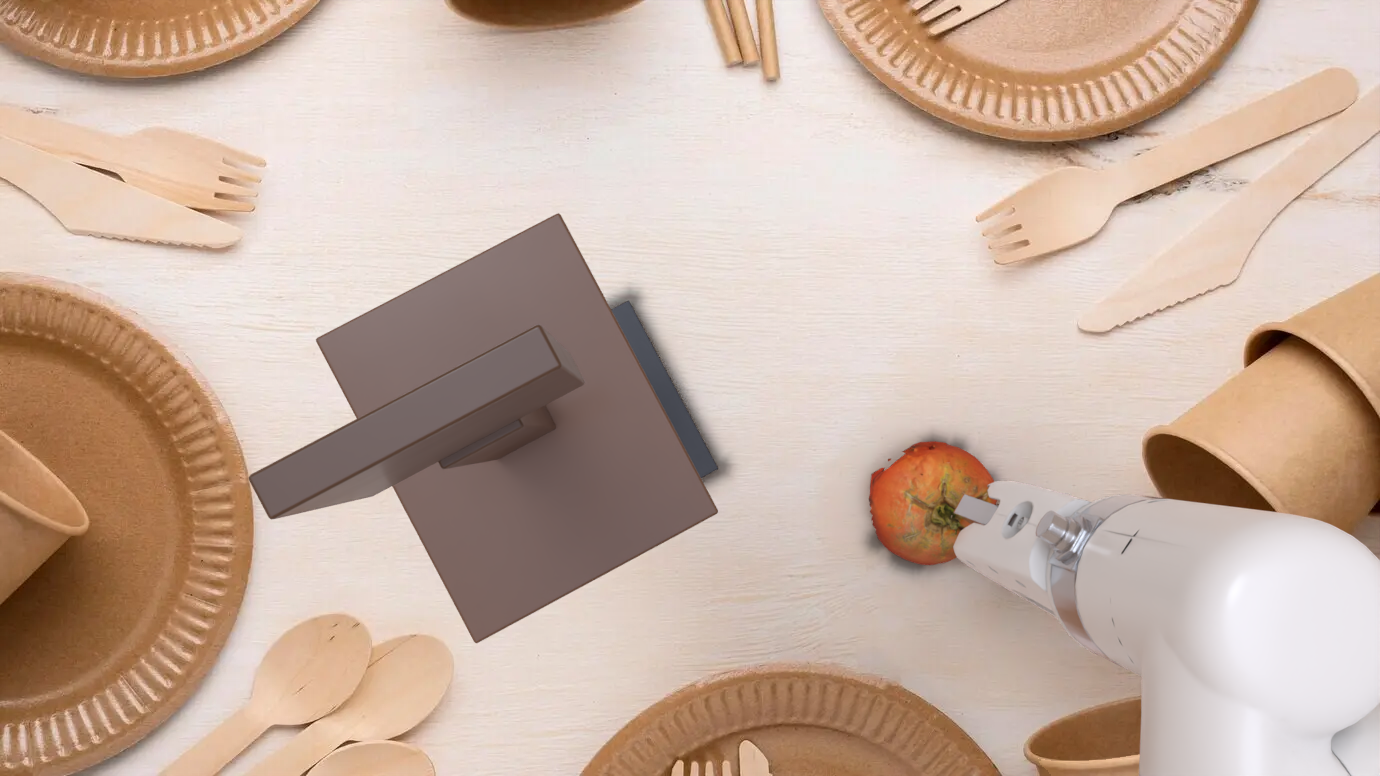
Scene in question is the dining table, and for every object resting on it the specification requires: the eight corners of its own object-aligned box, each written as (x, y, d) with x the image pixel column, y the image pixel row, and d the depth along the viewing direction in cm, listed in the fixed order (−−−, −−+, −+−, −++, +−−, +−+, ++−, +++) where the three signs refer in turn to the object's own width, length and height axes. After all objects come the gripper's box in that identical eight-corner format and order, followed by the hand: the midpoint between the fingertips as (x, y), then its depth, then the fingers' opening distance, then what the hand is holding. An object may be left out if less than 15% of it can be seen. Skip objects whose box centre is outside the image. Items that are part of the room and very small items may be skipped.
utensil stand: (717, 468, 67) (915, 575, 17) (549, 558, 66) (237, 947, 16) (628, 301, 67) (564, -79, 17) (460, 390, 66) (-117, 262, 16)
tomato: (848, 561, 65) (902, 495, 60) (845, 475, 70) (894, 406, 65) (965, 592, 67) (1026, 529, 62) (954, 504, 71) (1010, 439, 66)
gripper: (953, 570, 46) (867, 532, 64) (1247, 741, 46) (1078, 654, 65) (1036, 422, 46) (927, 425, 65) (1327, 591, 47) (1136, 547, 65)
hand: (1003, 540), depth 65 cm, fingers closed
